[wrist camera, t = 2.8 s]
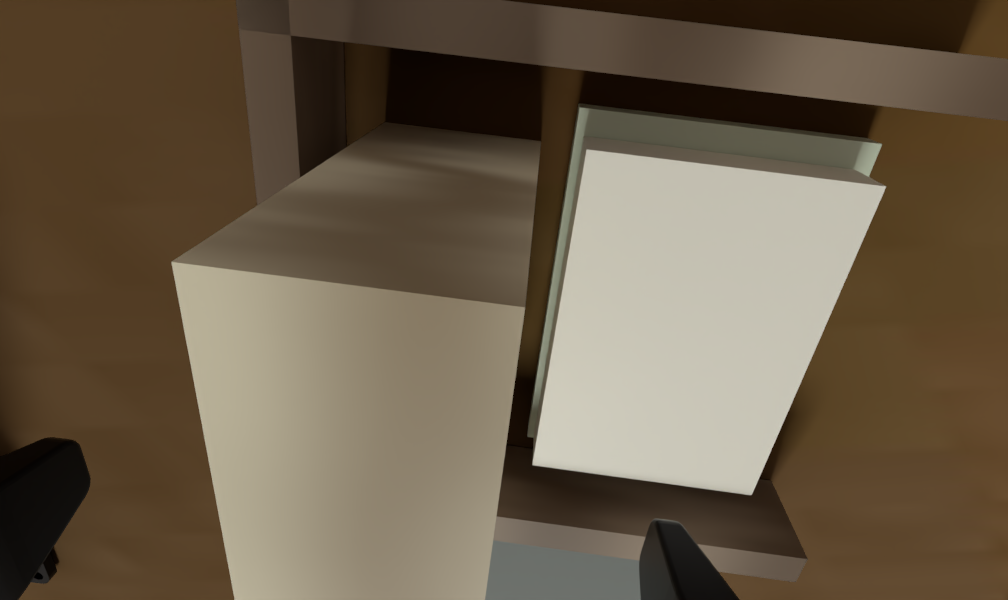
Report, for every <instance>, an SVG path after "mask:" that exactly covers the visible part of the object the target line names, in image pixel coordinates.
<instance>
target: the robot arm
mask: <svg viewBox="0 0 1008 600" xmlns="http://www.w3.org/2000/svg"><path fill="white" fill-rule="evenodd" d="M89 487H90V475H89V472H88V468H87V465H86V462H85V459H84V456H83V453H82V450H81V447H80V445H79V444H78V443H77V442H76V441H74V440H69V439H62V438H54V437H49V438H44V439H41V440H39V441H36V442H34V443H32V444H30V445H27V446H25V447H23V448H20V449H18V450H16V451H13V452H11V453H9V454H6V455H4V456H2V457H0V600H18V599H19V598H20V596H21V595H22V594H23V592H24V591H25V590H26V588H27V587H28V585H29V584H30V582H34V583H47V582H48V581H49V580H50V579H51V578H52V577H53V576H54V575H55V573H56V572H57V569H56V566H55V564H54V561H53V559H52V556H51V554H50V551H51V550H52V548H53V547H54V545H55V544H56V542H57V540H58V539H59V537H60V536H61V534H62V533H63V531H64V529H65V528H66V526H67V525H68V523H69V521H70V520H71V518H72V517H73V515H74V514H75V512H76V510H77V509H78V507H79V506H80V504H81V503H82V501H83V499H84V498H85V496H86V494H87V492H88V490H89ZM639 578H640V596H641V600H739V598H738V597H737V596H736V594H735V593H734V592H733V591H732V589H731V588H730V587H729V585H728V584H727V583H726V581H725V580H724V579H723V577H722V576H721V575H720V573H719V572H718V571H717V570H716V568H715V567H714V566H713V564H712V563H711V562H710V560H709V559H708V558H707V556H706V555H705V554H704V552H703V551H702V550H701V549H700V547H699V546H698V545H697V543H696V542H695V541H694V539H693V538H692V537H691V535H690V534H689V533H688V531H687V530H686V529H685V528H684V526H683V525H682V524H681V523H679V522H678V521H673V520H665V519H658V518H656V519H653V520H652V521H651V523H650V525H649V528H648V531H647V534H646V537H645V541H644V544H643V547H642V550H641V554H640V559H639Z"/></svg>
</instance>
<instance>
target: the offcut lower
mask: <svg viewBox="0 0 1008 600" xmlns="http://www.w3.org/2000/svg"><path fill="white" fill-rule="evenodd" d="M584 136H588V137H596V138H604V139H612V140H620V141H628V142H636V143H644V144H652V145H660V146H669V147H677V148H685V149H693V150H701V151H709V152H717V153H725V154H733V155H741V156H750V157H758V158H766V159H774V160H782V161H790V162H798V163H806V164H814V165H822V166H830V167H839V168H847V169H855V170H857V171H859V172H861V173H862V174H864V175H866V176H868V177H869V175H870V172H871V170H872V168H873V165H874V163H875V160H876V158H877V155H878V153H879V151H880V148H881V146H882V144H881V143H878V142H876V141H873V140H871V139H868V138H863V137H854V136H846V135H838V134H829V133H821V132H813V131H805V130H796V129H788V128H780V127H771V126H763V125H755V124H747V123H738V122H730V121H722V120H713V119H705V118H697V117H689V116H680V115H672V114H664V113H655V112H647V111H639V110H631V109H622V108H614V107H606V106H597V105H589V104H581V103H578V110H577V116H576V122H575V129H574V135H573V141H572V148H571V154H570V160H569V167H568V173H567V179H566V186H565V192H564V198H563V205H562V211H561V217H560V224H559V230H558V237H557V243H556V249H555V256H554V262H553V268H552V275H551V281H550V287H549V294H548V300H547V306H546V313H545V319H544V325H543V332H542V338H541V344H540V351H539V357H538V363H537V370H536V376H535V382H534V389H533V395H532V401H531V408H530V414H529V420H528V432H527V437H532V438H534V429H535V423H536V417H537V412H538V406H539V400H540V394H541V388H542V382H543V376H544V370H545V364H546V358H547V352H548V346H549V340H550V334H551V328H552V322H553V316H554V310H555V304H556V298H557V292H558V286H559V280H560V275H561V269H562V263H563V257H564V251H565V245H566V239H567V233H568V227H569V221H570V215H571V209H572V203H573V197H574V191H575V185H576V179H577V173H578V167H579V161H580V155H581V150H582V144H583V138H584Z"/></svg>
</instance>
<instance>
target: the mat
mask: <svg viewBox="0 0 1008 600" xmlns="http://www.w3.org/2000/svg"><path fill="white" fill-rule="evenodd" d="M485 600H641V596H640V578H639V560H632V559H625V558H617V557H610V556H603V555H596V554H588V553H581V552H574V551H567V550H560V549H552V548H545V547H538V546H531V545H523V544H516V543H509V542H502V541H495V540H493V545H492V552H491V560H490V567H489V574H488V581H487V589H486V596H485Z"/></svg>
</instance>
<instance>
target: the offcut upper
mask: <svg viewBox="0 0 1008 600" xmlns="http://www.w3.org/2000/svg"><path fill="white" fill-rule="evenodd" d="M885 188H886V186H884V185H883V184H881V183H879V182H877V181H875V180H873V179H872V178H870V177H868V176H866V175H864V174H862V173H861V172H859V171H857V170H855V169H847V168H839V167H830V166H822V165H814V164H806V163H798V162H790V161H782V160H774V159H766V158H758V157H750V156H741V155H733V154H725V153H717V152H709V151H701V150H693V149H685V148H677V147H669V146H660V145H652V144H644V143H636V142H628V141H620V140H612V139H604V138H596V137H588V136H584V138H583V144H582V150H581V155H580V161H579V167H578V173H577V179H576V185H575V191H574V197H573V203H572V209H571V215H570V221H569V227H568V233H567V239H566V245H565V251H564V257H563V263H562V269H561V275H560V280H559V286H558V292H557V298H556V304H555V310H554V316H553V322H552V328H551V334H550V340H549V346H548V352H547V358H546V364H545V370H544V376H543V382H542V388H541V394H540V400H539V406H538V412H537V417H536V423H535V429H534V440H533V460H532V465H534V466H542V467H549V468H556V469H563V470H571V471H578V472H585V473H593V474H600V475H607V476H614V477H622V478H629V479H636V480H643V481H651V482H658V483H665V484H672V485H680V486H687V487H694V488H702V489H709V490H716V491H723V492H731V493H738V494H745V495H752V493H753V491H754V489H755V487H756V484H757V482H758V480H759V477H760V475H761V473H762V471H763V468H764V466H765V464H766V461H767V459H768V457H769V454H770V452H771V450H772V448H773V445H774V443H775V441H776V438H777V436H778V434H779V432H780V429H781V427H782V425H783V422H784V420H785V418H786V415H787V413H788V411H789V409H790V406H791V404H792V402H793V399H794V397H795V395H796V392H797V390H798V388H799V386H800V383H801V381H802V379H803V376H804V374H805V372H806V370H807V367H808V365H809V363H810V360H811V358H812V356H813V353H814V351H815V349H816V347H817V344H818V342H819V340H820V337H821V335H822V333H823V331H824V328H825V326H826V324H827V321H828V319H829V317H830V314H831V312H832V310H833V308H834V305H835V303H836V301H837V298H838V296H839V294H840V292H841V289H842V287H843V285H844V282H845V280H846V278H847V275H848V273H849V271H850V269H851V266H852V264H853V262H854V259H855V257H856V255H857V253H858V250H859V248H860V246H861V243H862V241H863V239H864V236H865V234H866V232H867V230H868V227H869V225H870V223H871V220H872V218H873V216H874V213H875V211H876V209H877V207H878V204H879V202H880V200H881V197H882V195H883V193H884V191H885Z"/></svg>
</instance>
